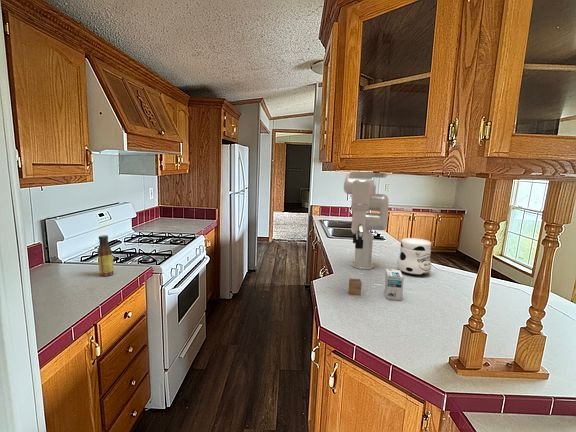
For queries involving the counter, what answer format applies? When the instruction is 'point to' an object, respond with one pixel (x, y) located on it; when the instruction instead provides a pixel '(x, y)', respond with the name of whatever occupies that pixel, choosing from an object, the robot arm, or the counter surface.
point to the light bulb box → (394, 284)
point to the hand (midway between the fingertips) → (357, 245)
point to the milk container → (415, 256)
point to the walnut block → (355, 286)
